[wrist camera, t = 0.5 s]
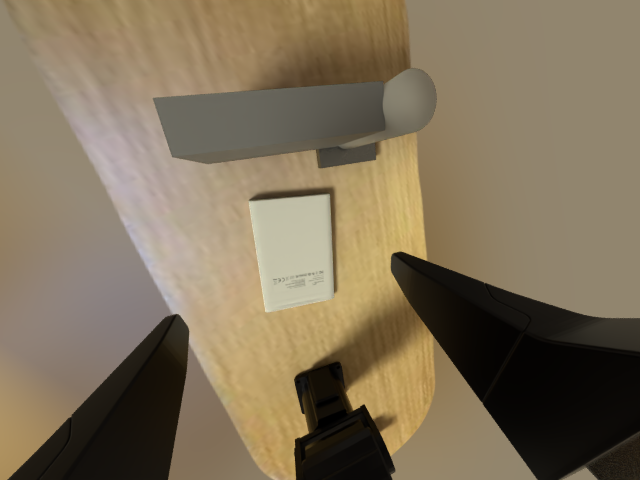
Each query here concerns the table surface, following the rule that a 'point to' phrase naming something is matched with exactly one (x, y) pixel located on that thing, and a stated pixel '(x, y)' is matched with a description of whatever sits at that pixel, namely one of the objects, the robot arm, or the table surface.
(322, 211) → the external hard drive
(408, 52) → the table surface
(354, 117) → the swing arm
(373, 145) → the arm mount
